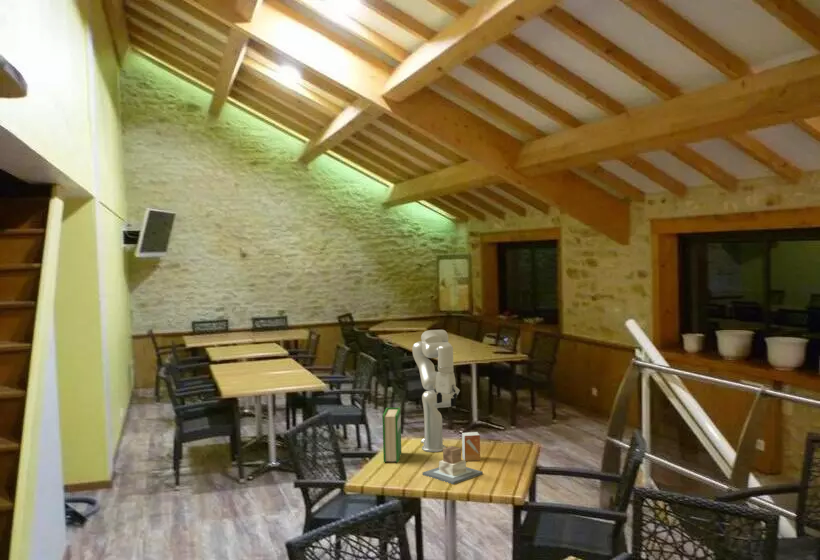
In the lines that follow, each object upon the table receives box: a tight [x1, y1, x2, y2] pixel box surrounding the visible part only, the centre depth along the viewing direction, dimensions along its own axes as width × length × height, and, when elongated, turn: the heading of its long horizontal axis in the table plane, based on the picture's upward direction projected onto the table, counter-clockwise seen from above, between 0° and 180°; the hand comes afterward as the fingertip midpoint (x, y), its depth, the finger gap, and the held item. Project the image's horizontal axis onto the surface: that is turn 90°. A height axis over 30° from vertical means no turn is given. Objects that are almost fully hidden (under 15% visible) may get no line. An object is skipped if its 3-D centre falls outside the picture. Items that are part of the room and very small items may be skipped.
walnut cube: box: [442, 445, 462, 464], centre depth 329 cm, size 6×6×6 cm
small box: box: [461, 431, 481, 462], centre depth 352 cm, size 8×6×13 cm
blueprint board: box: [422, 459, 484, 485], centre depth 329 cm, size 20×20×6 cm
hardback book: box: [382, 407, 402, 463], centre depth 358 cm, size 18×7×24 cm, turn 176°
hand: (446, 404), depth 344 cm, fingers open, 9 cm apart
